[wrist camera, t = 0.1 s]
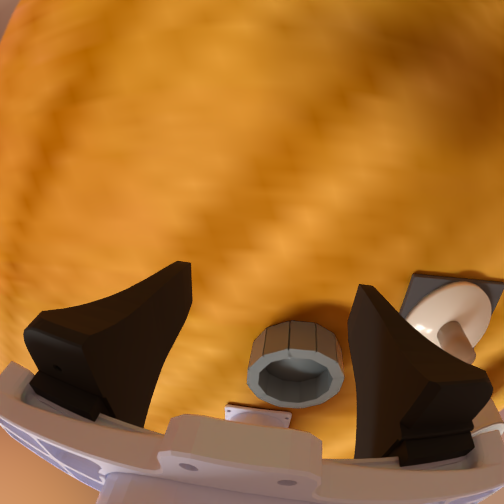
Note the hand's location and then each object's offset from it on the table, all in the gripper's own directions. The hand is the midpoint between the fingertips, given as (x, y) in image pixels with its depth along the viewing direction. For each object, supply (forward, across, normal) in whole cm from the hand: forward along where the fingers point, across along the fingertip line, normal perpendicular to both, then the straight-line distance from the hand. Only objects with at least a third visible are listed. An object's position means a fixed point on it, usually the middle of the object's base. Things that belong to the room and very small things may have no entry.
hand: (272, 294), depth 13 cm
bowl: (+10, -3, +14) cm, 17 cm away
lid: (+10, -17, +8) cm, 21 cm away
